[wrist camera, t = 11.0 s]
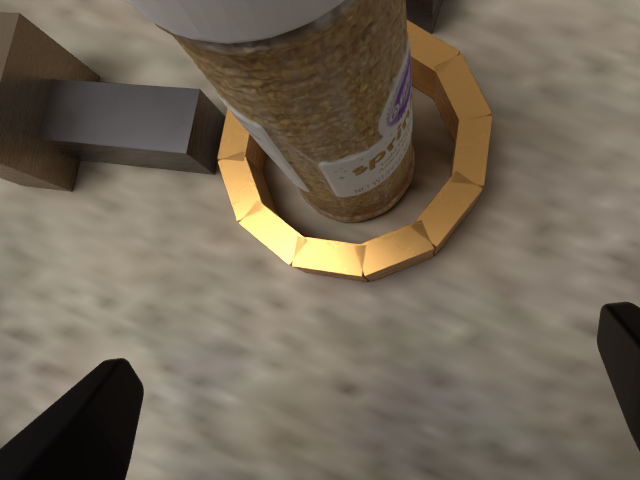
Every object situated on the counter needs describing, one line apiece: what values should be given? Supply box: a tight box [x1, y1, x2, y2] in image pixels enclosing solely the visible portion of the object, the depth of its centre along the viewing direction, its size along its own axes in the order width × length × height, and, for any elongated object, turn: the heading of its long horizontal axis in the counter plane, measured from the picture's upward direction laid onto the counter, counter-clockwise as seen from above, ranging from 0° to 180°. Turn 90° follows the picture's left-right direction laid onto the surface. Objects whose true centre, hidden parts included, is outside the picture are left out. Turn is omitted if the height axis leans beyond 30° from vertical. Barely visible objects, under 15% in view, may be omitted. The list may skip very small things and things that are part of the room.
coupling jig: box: [0, 0, 492, 282], centre depth 17 cm, size 17×25×4 cm
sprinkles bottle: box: [127, 0, 415, 222], centre depth 12 cm, size 5×5×13 cm
